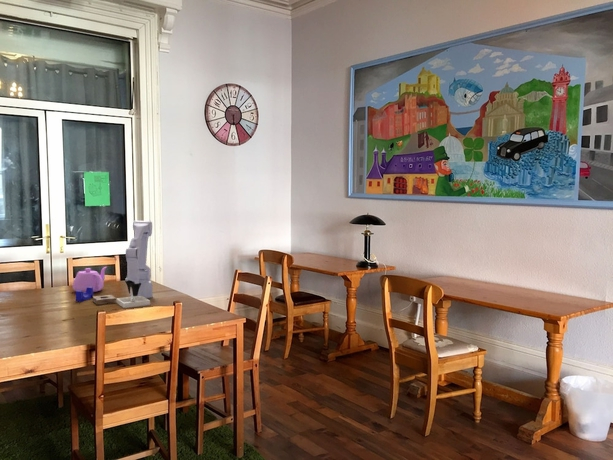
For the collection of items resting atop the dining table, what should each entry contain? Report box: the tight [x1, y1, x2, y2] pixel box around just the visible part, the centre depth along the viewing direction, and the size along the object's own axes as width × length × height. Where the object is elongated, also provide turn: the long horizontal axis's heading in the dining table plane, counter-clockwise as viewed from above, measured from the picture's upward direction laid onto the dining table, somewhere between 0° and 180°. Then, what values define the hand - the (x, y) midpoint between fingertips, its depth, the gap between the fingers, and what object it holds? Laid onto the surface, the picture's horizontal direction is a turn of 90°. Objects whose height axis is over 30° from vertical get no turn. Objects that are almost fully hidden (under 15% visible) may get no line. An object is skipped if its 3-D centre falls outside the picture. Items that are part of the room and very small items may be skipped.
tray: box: [116, 296, 151, 309], centre depth 290 cm, size 14×14×2 cm
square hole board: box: [92, 294, 117, 306], centre depth 294 cm, size 10×10×2 cm
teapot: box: [72, 266, 108, 294], centre depth 323 cm, size 22×22×14 cm
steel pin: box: [129, 287, 135, 302], centre depth 290 cm, size 3×3×9 cm
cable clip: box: [75, 287, 94, 303], centre depth 300 cm, size 12×4×6 cm, turn 170°
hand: (133, 294), depth 290 cm, fingers open, 7 cm apart
